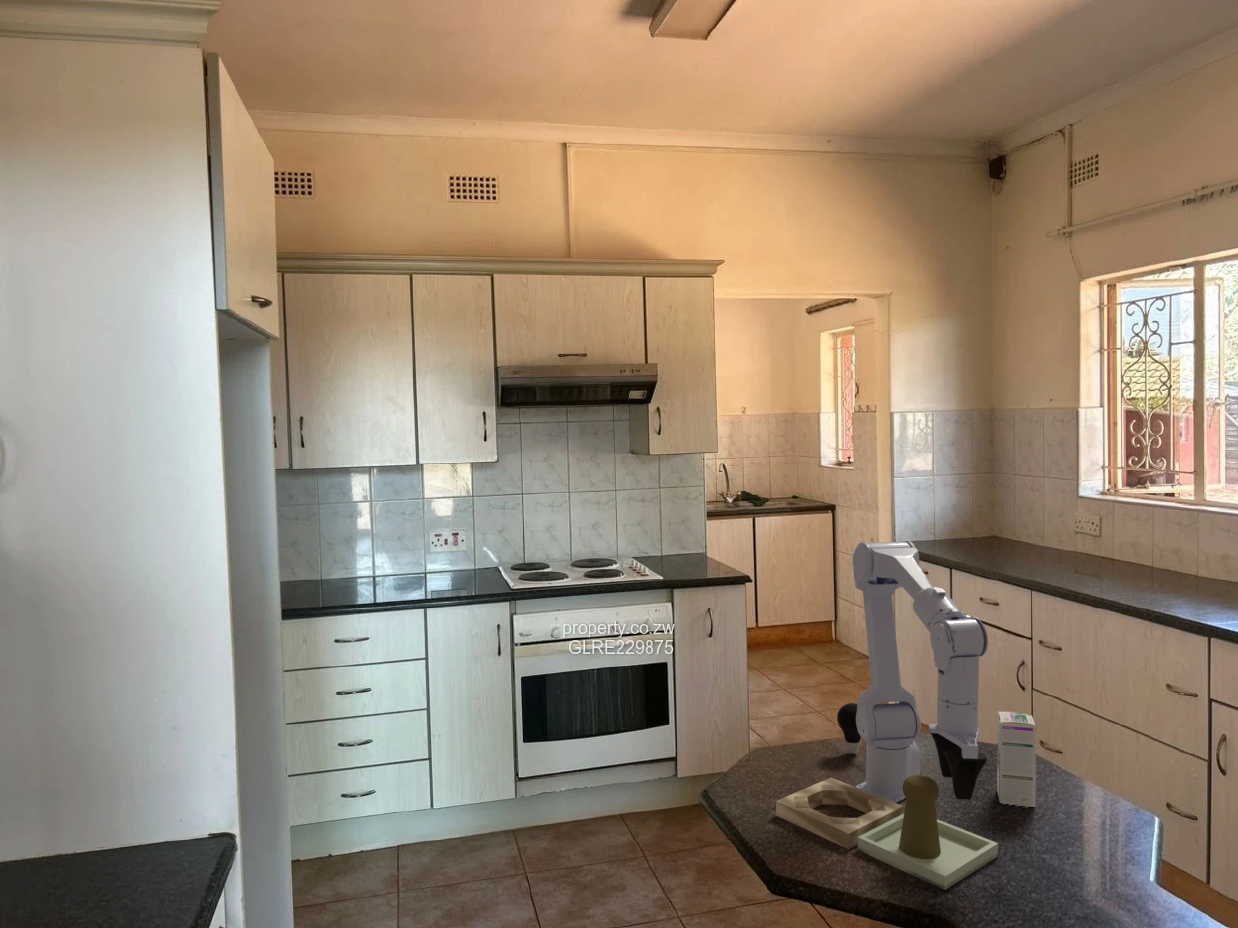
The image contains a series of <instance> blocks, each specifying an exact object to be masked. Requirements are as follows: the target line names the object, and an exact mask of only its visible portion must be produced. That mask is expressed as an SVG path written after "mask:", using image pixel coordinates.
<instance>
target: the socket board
mask: <svg viewBox="0 0 1238 928" xmlns="http://www.w3.org/2000/svg"><path fill="white" fill-rule="evenodd" d="M823 805H831V806H832V805H833V806H835V805H836V806H840V805H841V806H848V807H850V808H853V809H856V810H858V811H861V812H862V813H864V814H862V815H861V816H858V817H838V816H837V817H835V816H829V815H827V814H824V813H822V812H820V811H817V810H815V809H816V808H817V807H820V806H823ZM902 814H904V805H901V804H899V803H898V802H897V803H894V802H892V801H889V800H887V799H884V798H881V797H879V796H876V795H874V794H871V793H869V792H866V791H864V790H861V789H859V788H856V786H854V785H852V784H848V783H845V782H843V781H840V780H839V779H835V778H833V777H829V778H826V779H824V780H821V781H820V782H817V783H815V784H813V785H810V786H808V787H806V788H804V789H801V790H799V791H796V792H794V793H791V794H790V795H787V796H785V797H782V798H780V799H778V800H777V799H776V802H775V816H776V817H778V818H780V819H782V820H785V821H787V822H789V823H792V824H793V825H794V826H798V827H800V828H803V829H805V830H807V831H808V832H810V833H812V834H815V835H817V836H819V837H821V838H824V839H825V840H828V841H830V842H832V843H834V844H836V845H838V846H840V847H843V848H845V849H847V850H851V849H852V848H854V847H856V846H858V837H859V836H861V835H863V834H865V833H867V832H869V831H871V830H873V829H875V828H876V827H878V826H880V825H882V824H884V823H886V822H888V821H890V820H892V819H894V818H896V817H898V816H900V815H902Z"/></svg>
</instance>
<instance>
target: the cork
mask: <svg viewBox="0 0 1238 928" xmlns="http://www.w3.org/2000/svg"><path fill="white" fill-rule="evenodd" d="M903 793H904V796H905V797H906V798H905V799H906V800H905V806H904V810H903V814H904V817H903V823H902V830H901V836H900V843H899V848H900V850H901V851H902V852H903V853H905V854H907V855H909V856H911V857H914V858H919V859H933V858H936V857H938V856H939V855H940V854H941V848H940V840H939V832H938V824H937V819H938V817H937V809H936V801H937V800H938V798H939V795H940V789H939V786H938V784H937V782H936V781H935V780H934V779H933V778H931V777H929V776H926V775H921V774H920V775H912V776H909V777H907V778H906V779H905V780H904V783H903Z"/></svg>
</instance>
